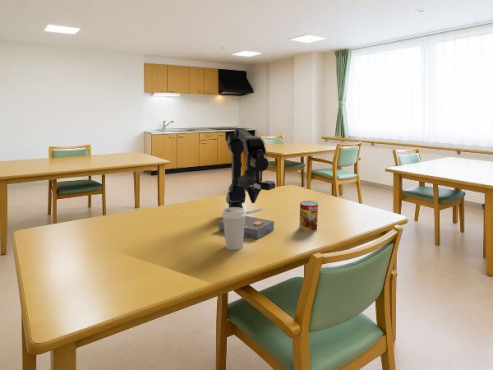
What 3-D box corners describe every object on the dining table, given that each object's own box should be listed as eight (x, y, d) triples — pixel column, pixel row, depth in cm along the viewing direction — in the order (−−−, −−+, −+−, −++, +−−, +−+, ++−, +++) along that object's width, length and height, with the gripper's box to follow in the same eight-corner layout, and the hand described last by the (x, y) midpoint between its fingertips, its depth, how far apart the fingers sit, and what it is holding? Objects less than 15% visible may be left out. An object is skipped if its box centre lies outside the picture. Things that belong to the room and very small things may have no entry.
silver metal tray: (218, 230, 163) (218, 217, 161) (237, 222, 174) (237, 210, 173) (257, 239, 152) (257, 225, 151) (273, 229, 163) (274, 217, 162)
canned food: (313, 232, 160) (314, 206, 157) (296, 229, 164) (297, 203, 161) (319, 227, 166) (320, 202, 164) (303, 224, 170) (304, 199, 168)
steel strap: (230, 218, 165) (229, 216, 165) (233, 216, 167) (233, 214, 167) (258, 211, 156) (258, 209, 156) (262, 209, 158) (261, 208, 158)
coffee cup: (221, 242, 148) (221, 206, 145) (245, 242, 149) (245, 206, 146) (222, 252, 139) (221, 213, 135) (247, 251, 139) (247, 213, 136)
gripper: (224, 167, 153) (224, 203, 157) (262, 172, 143) (262, 210, 147) (239, 164, 163) (239, 198, 166) (276, 168, 152) (275, 204, 156)
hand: (253, 202), depth 158 cm, fingers closed
